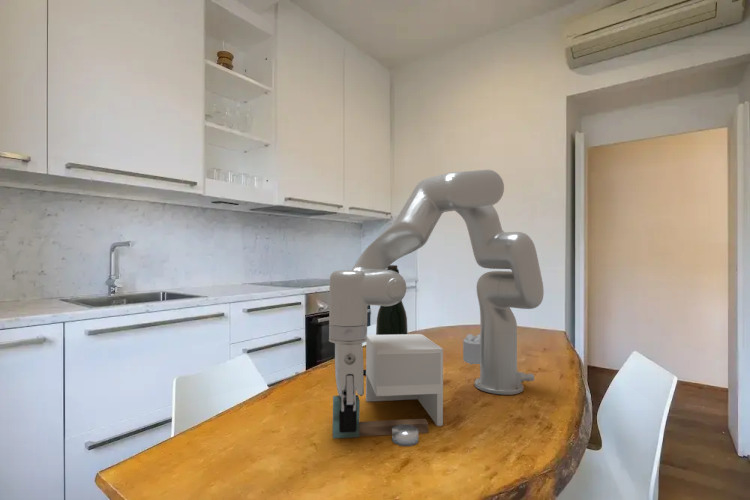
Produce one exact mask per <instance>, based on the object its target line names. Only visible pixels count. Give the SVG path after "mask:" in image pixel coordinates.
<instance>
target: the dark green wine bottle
mask: <svg viewBox="0 0 750 500" xmlns="http://www.w3.org/2000/svg"><path fill="white" fill-rule="evenodd" d="M386 270H392V271H395V272H397V273H399V274H400V271H399V269H398V265H394V264H391V265H390V266H389V267H388V268H387V269H386ZM407 316H408V315H407V312H406V309H405V306H404V303H403V299H402V300H401V301H400V302H399V303H397V304H395V305H392V306H379V308H378V311H377V317H376V323H375V324H376V326H375V327H376V328H375V330H376V331H375V335H397V334H409V333H408V317H407Z"/></svg>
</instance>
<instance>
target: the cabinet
mask: <svg viewBox="0 0 750 500" xmlns="http://www.w3.org/2000/svg"><path fill="white" fill-rule="evenodd" d="M365 343H366V344H365V346H366V348H365V354H366V355H365V357H366V358H365V370H366V374H365V401H366V402H367V403H368V402H387V401H390V402H391V401H411V400H412V401H415V400H417V401H418V402H419V403H420V404H421V406H422V408H424V410H425V411H426V413H427V414H428V415H429V416H430V418H431V419H432V421H433V422H434V424H435V425H436V426H437V427H441V426H444V348H443V347H441V346H440V345H438V344H436V343H435V342H434V341H432V340H431V339H429V338H428V337H427V336H425V335H424V334H422V333H414V334H413V333H411V334H410V333H408V334H397V335H376V334H367V341H366V342H365Z"/></svg>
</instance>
